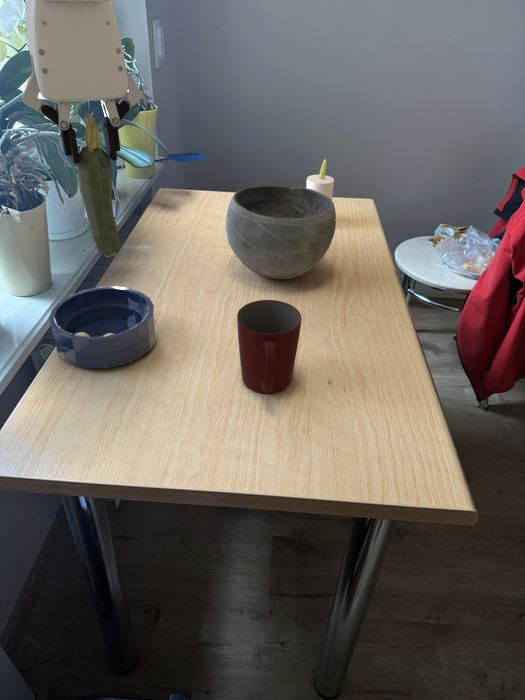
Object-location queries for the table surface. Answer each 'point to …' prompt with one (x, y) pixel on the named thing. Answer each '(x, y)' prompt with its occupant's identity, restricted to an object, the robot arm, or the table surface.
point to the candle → (321, 182)
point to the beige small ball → (82, 334)
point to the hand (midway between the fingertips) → (93, 157)
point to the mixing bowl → (103, 326)
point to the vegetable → (97, 190)
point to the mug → (268, 344)
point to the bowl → (280, 229)
